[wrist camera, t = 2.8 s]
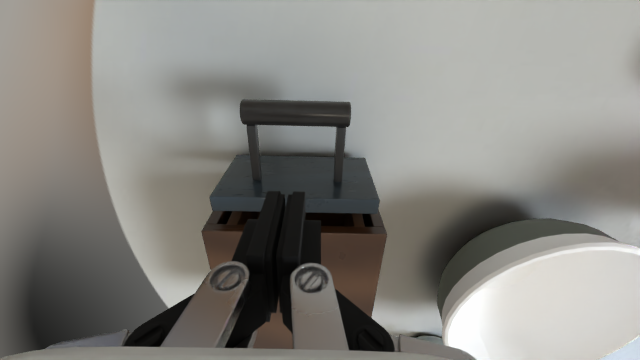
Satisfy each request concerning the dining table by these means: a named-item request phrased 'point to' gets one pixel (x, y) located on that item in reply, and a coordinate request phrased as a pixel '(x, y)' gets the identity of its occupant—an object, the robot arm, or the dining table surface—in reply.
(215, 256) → the cabinet
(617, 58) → the dining table surface
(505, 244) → the bowl
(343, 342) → the robot arm
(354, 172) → the drawer
